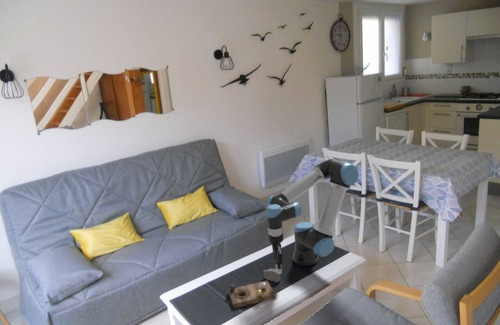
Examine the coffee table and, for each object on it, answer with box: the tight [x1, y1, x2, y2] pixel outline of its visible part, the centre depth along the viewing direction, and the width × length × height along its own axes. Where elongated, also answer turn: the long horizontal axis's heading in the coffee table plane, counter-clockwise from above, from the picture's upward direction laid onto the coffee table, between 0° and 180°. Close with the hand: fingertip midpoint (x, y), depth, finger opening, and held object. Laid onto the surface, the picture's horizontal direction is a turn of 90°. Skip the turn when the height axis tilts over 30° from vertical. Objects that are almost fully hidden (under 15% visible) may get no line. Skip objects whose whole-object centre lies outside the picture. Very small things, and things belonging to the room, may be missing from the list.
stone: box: [263, 268, 281, 283], centre depth 213 cm, size 10×8×6 cm
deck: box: [228, 280, 276, 309], centre depth 199 cm, size 22×13×2 cm, turn 104°
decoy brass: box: [256, 290, 263, 297], centre depth 194 cm, size 4×4×4 cm
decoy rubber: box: [228, 283, 237, 291], centre depth 201 cm, size 4×4×4 cm
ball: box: [261, 283, 267, 290], centre depth 200 cm, size 4×4×4 cm
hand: (279, 273), depth 204 cm, fingers closed
